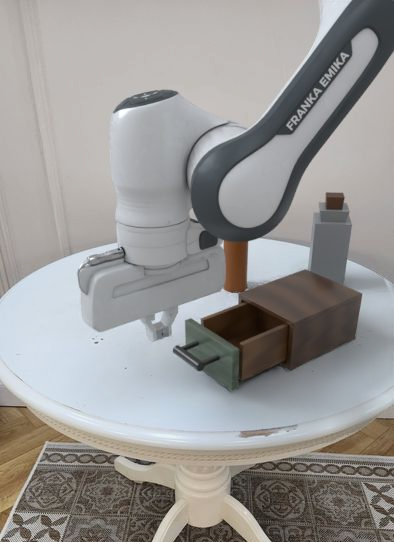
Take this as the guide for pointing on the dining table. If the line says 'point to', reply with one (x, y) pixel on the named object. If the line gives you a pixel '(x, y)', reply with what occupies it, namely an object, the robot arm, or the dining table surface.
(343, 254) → the perfume bottle
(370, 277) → the dining table surface
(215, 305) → the dining table surface
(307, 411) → the dining table surface
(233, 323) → the drawer
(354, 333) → the cabinet
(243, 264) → the pill bottle
